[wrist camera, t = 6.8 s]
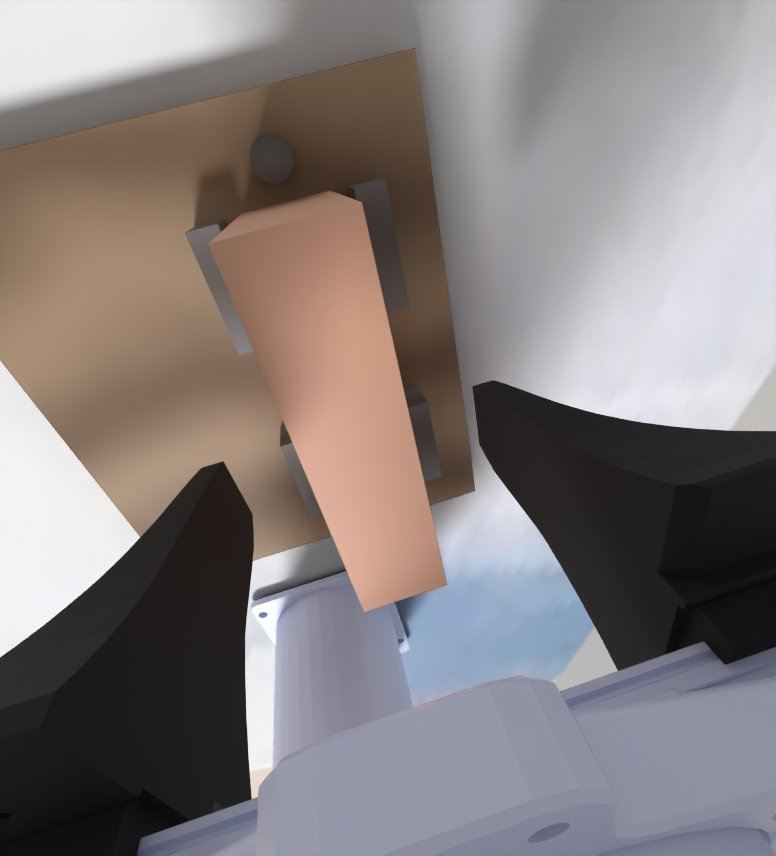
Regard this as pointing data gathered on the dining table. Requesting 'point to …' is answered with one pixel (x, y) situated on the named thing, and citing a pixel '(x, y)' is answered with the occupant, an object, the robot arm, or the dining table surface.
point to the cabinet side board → (217, 286)
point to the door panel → (336, 383)
